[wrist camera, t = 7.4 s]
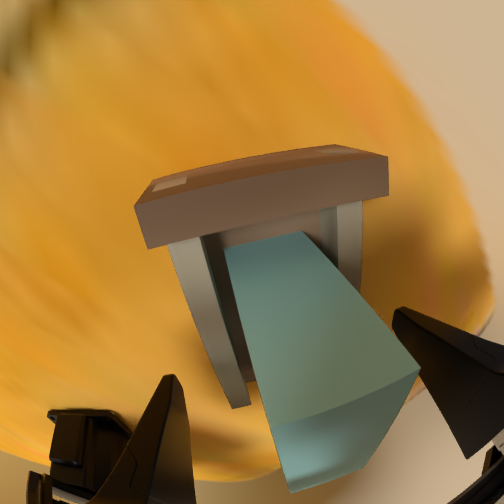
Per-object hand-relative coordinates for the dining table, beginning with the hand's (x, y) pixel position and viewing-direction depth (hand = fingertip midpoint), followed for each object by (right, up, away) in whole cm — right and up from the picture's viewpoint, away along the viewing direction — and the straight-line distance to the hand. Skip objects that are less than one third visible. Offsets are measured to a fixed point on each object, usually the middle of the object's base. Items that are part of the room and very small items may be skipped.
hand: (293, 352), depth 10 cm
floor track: (-1, +2, +2) cm, 3 cm away
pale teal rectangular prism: (-1, +1, +2) cm, 3 cm away
